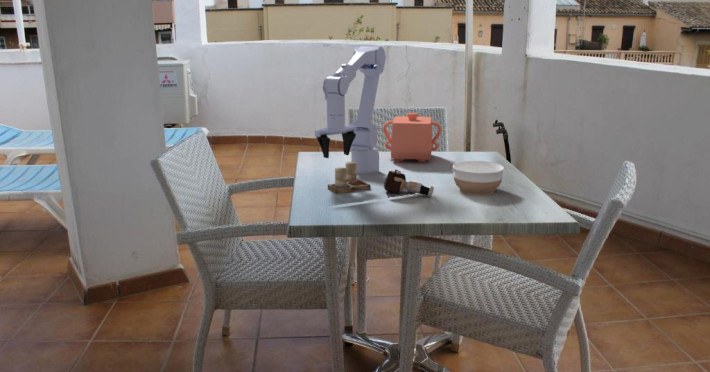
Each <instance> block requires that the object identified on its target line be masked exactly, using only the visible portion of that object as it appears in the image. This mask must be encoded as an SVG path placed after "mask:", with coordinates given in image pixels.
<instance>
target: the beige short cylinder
mask: <svg viewBox="0 0 710 372" xmlns="http://www.w3.org/2000/svg"><path fill="white" fill-rule="evenodd" d="M345 168H346V169H347V182H352V181H357V178H358V177H357V174H358V173H357V163H356V162H351V161H347V162H345Z"/></svg>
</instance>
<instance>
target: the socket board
mask: <svg viewBox="0 0 710 372" xmlns="http://www.w3.org/2000/svg"><path fill="white" fill-rule="evenodd" d="M334 185H335V183H329V184H327V190H329V191H331V192H332V193H334V194H336V195H338V194H347V193H352V192H362V191H367V190H371V187H372V186H371V184H369V183H368V182H366V181H364V180H362V179H360V180H359V181H352V182H347V187H346V188H338V189H337V188H335V186H334Z"/></svg>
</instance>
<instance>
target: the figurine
mask: <svg viewBox="0 0 710 372" xmlns="http://www.w3.org/2000/svg"><path fill="white" fill-rule="evenodd" d="M383 188H384V190H385V191H386V192H387V195H392V193H393V194H400V193H402V191H403V190H404V189H405V190H407V192H410V193H414V194H419V195H424V196H425V197H430V198H431V197H433V194H434V190H435V187H434V186H432V185H430V187H427V186H425V185H423V183H420V182H417V181H416V182H415V181H411V180H410V181H407V180H406V174H404V173H402V172H401V171H400V170H398V169H396V168H395V170H389V171H388V173H387V176H386V178H385V179H384V184H383ZM391 197H392V198H393V197H396V196H395V195H392V196H391Z"/></svg>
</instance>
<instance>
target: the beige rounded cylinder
mask: <svg viewBox="0 0 710 372" xmlns="http://www.w3.org/2000/svg"><path fill="white" fill-rule="evenodd" d="M334 169H335V170H334V184H335V185H334V186H335V188H337V189H338V188H346V187H347V169H346V167H340V166H339V167H335V168H334Z"/></svg>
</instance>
